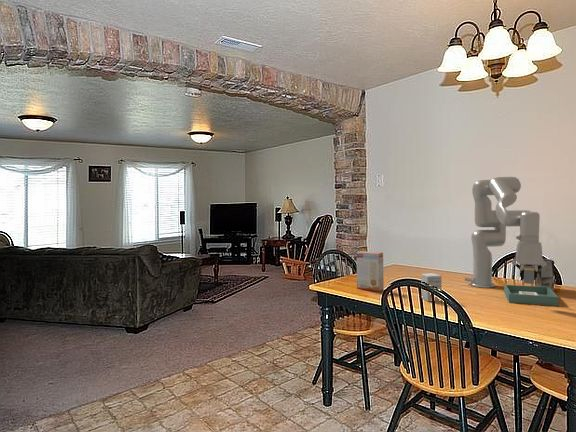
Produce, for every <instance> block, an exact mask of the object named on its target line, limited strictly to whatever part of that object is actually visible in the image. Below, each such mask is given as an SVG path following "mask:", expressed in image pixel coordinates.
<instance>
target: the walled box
mask: <svg viewBox="0 0 576 432" xmlns="http://www.w3.org/2000/svg"><path fill="white" fill-rule="evenodd" d="M503 293H504V295H505V297H506V299H507V302H508V303H512V304H513V303H514V304H528V305H540V306H554V307H558V306H559V296H558V295H557V294H556V293H555V292H554V291H552V290H551V289H550V288H549V287H539V286H535V285H534V286H533V285H520V284H518V285H517V284H503Z"/></svg>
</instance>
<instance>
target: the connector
mask: <svg viewBox="0 0 576 432" xmlns="http://www.w3.org/2000/svg"><path fill="white" fill-rule="evenodd" d="M534 270H535V269H534V265H526V264H524V267H523V271H524V279H522V283H523V284H528V285H530V284H531V285H535V280H534Z"/></svg>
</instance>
